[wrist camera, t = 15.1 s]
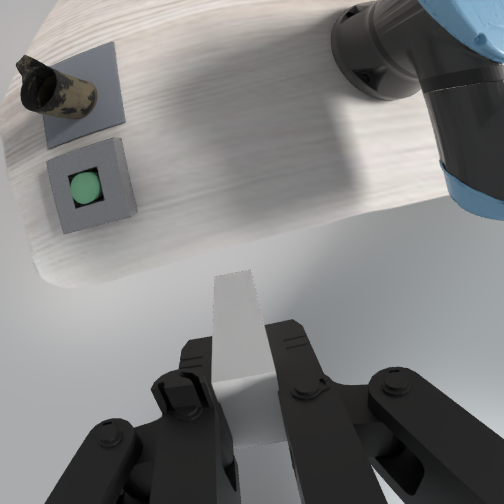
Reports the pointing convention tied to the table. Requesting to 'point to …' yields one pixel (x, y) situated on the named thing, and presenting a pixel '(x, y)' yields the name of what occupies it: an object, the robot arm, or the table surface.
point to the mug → (54, 91)
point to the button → (86, 187)
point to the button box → (112, 182)
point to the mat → (108, 95)
